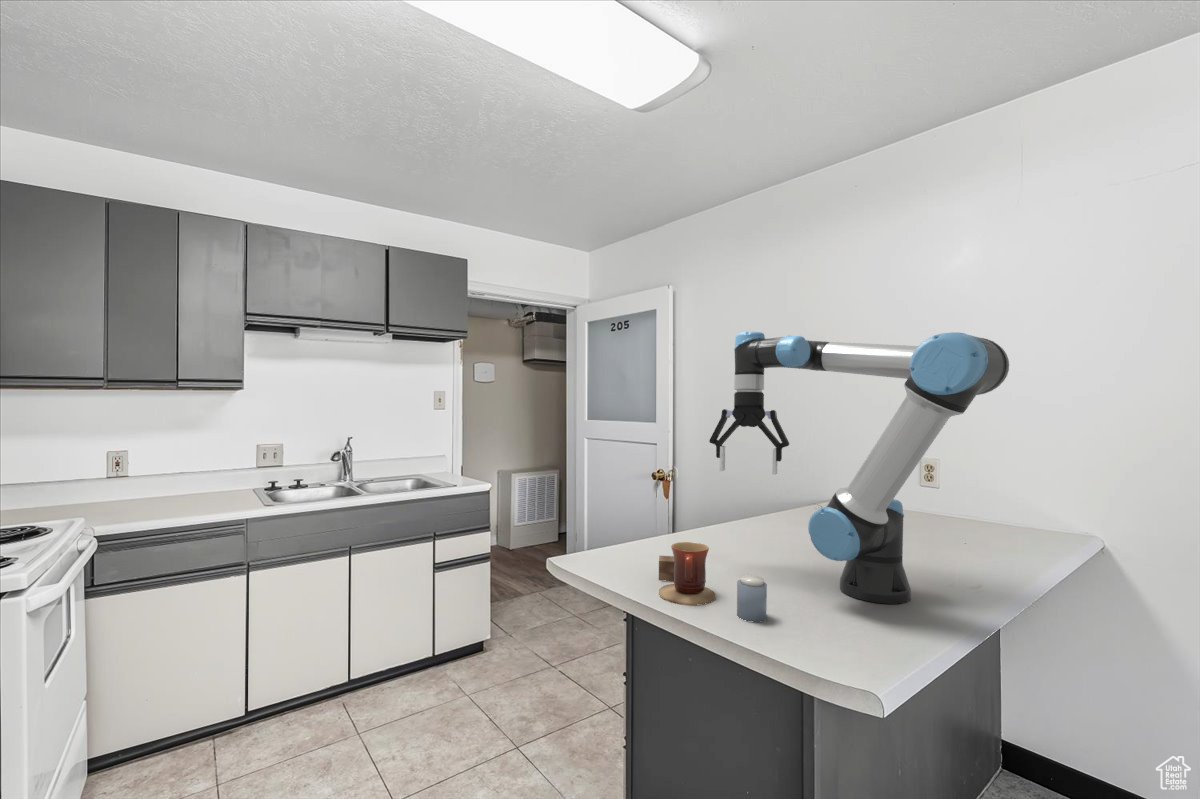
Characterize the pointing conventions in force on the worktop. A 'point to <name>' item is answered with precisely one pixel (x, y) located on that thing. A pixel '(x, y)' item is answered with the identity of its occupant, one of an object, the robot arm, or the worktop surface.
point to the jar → (751, 598)
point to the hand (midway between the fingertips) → (748, 472)
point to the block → (666, 568)
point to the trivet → (686, 596)
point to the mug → (689, 567)
